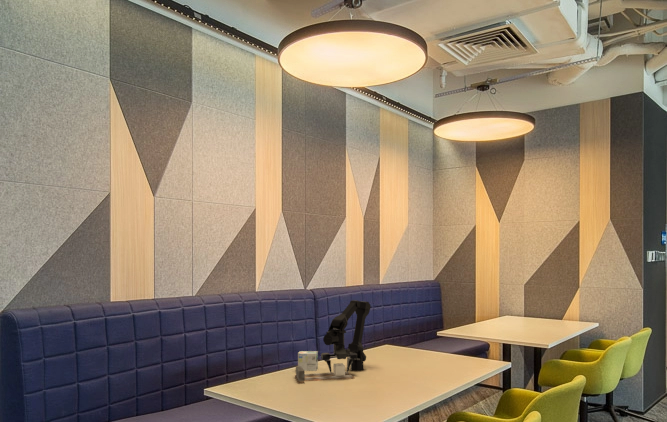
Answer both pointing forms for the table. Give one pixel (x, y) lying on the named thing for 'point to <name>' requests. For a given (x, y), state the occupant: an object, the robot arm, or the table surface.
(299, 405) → the table surface
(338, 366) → the cream white cube
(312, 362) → the light bulb box
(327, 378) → the track board
